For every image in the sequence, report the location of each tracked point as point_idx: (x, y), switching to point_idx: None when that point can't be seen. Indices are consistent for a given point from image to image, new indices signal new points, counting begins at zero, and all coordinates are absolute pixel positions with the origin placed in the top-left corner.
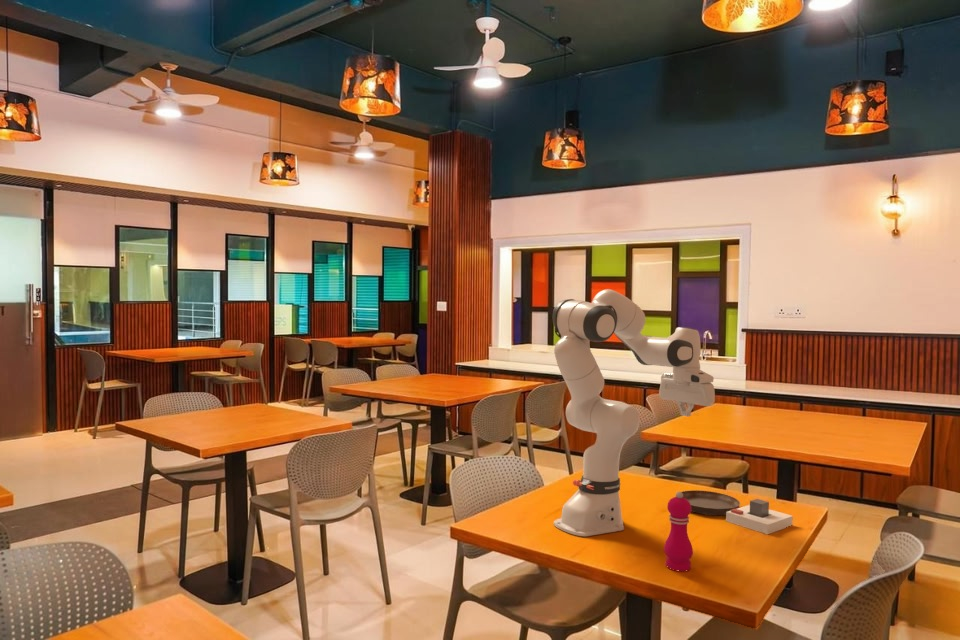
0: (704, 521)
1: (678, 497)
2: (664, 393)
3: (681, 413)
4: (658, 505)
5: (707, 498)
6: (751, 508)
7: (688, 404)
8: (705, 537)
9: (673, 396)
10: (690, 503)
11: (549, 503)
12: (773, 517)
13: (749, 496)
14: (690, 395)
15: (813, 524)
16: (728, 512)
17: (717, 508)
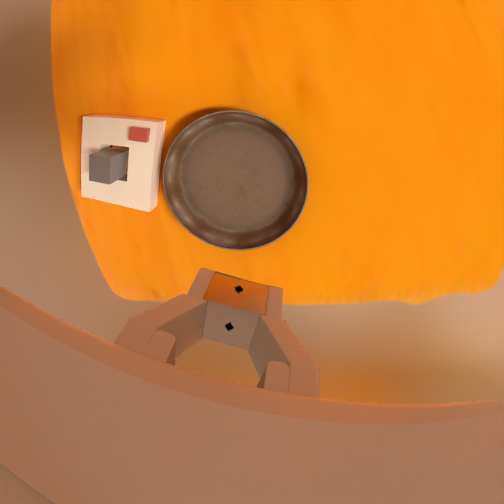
0: (197, 84)
1: None
2: (493, 453)
3: (269, 292)
4: (329, 117)
5: (257, 231)
6: (115, 153)
7: (140, 346)
8: (159, 12)
9: (387, 456)
10: (272, 173)
11: (489, 23)
12: None
13: None
14: (17, 416)
15: (81, 218)
16: (152, 121)
17: (181, 131)
